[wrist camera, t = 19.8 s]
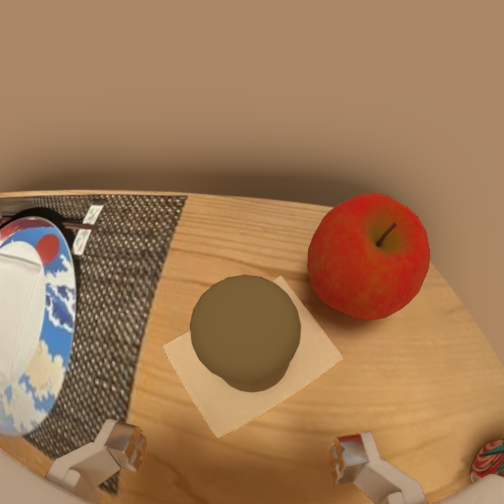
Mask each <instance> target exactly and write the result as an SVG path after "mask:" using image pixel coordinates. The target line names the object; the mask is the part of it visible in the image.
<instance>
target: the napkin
mask: <svg viewBox="0 0 504 504" xmlns="http://www.w3.org/2000/svg"><path fill="white" fill-rule="evenodd" d="M271 282H274V283H276V284H277V285H278V286H279V287H280V288H282V289H283V290H284V291H285V292H286V293H287V294H288V295H289V296H290V298H291V300H292V301H293V303H294V305H295V306H296V308H297V310H298V314H299V318H300V322H301V336H300V344H299V346H298V348H297V350H296V353H295V355H294V357H293V359H292V360H291V361H290V362H289V367H288V369H287V371H286V373H285V375H284V377H283V378H282V379H281V380H280V381H279V382H278V383H277V384H276V385H275V386H273V387H271V388H269V389H267V390H265V391H260V392H254V393H251V392H244V391H239V390H237V389H235V388H233V387H231V386H229V385H228V384H227V383H226V382H225V381H224V380H223V379H222V378H221V377H219V376H217V375H215V374H213V373H211V372H210V371H209V370H208V369H207V368H206V367H205V366H204V365H203V364H202V363H201V361H200V360H199V359H198V357H197V355H196V353H195V350H194V348H193V346H192V342H191V333H190V331H188V332H186V333H184V334H183V335H181V336H179V337H177V338H176V339H174V340H172V341H170V342H169V343H167V344H165V345H163V346H162V347H163V349H164V351H165V353H166V355H167V357H168V359H169V361H170V362H171V364H172V366H173V368H174V370H175V372H176V373H177V375H178V377H179V379H180V380H181V382H182V384H183V386H184V387H185V389H186V391H187V393H188V394H189V396H190V398H191V399H192V401H193V402H194V404H195V406H196V407H197V409H198V410H199V412H200V414H201V415H202V417H203V418H204V420H205V421H206V423H207V424H208V426H209V427H210V429H211V430H212V432H213V433H214V435H215V436H216V438H217V439H219V438H221V437H223V436H225V435H227V434H229V433H230V432H232V431H234V430H236V429H238V428H240V427H241V426H243V425H245V424H247V423H249V422H250V421H252V420H254V419H255V418H257V417H259V416H261V415H262V414H264V413H266V412H267V411H269V410H270V409H272V408H274V407H275V406H277V405H278V404H280V403H282V402H283V401H285V400H286V399H288V398H289V397H291V396H292V395H294V394H295V393H297V392H298V391H300V390H301V389H303V388H304V387H305V386H307V385H308V384H310V383H311V382H312V381H314V380H315V379H317V378H318V377H319V376H321V375H322V374H323V373H325V372H326V371H327V370H329V369H330V368H331V367H333V366H334V365H335V364H337V363H338V362H339V361H340V360H342V359H343V358H344V357H343V356H342V355H341V353H340V352H339V351H338V349H337V348H336V347H335V345H334V344H333V343H332V341H331V340H330V339H329V337H328V336H327V335H326V333H325V332H324V331H323V329H322V328H321V327H320V325H319V324H318V323H317V321H316V320H315V319H314V318H313V316H312V315H311V314H310V312H309V311H308V310H307V308H306V307H305V306H304V304H303V303H302V302H301V300H300V299H299V298H298V296H297V295H296V294H295V293H294V291H293V290H292V289H291V287H290V286H289V285H288V283H287V282H286V281H285V279H284V278H283V277H282V276H280V277H278V278H276V279H275V280H273V281H271Z"/></svg>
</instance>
